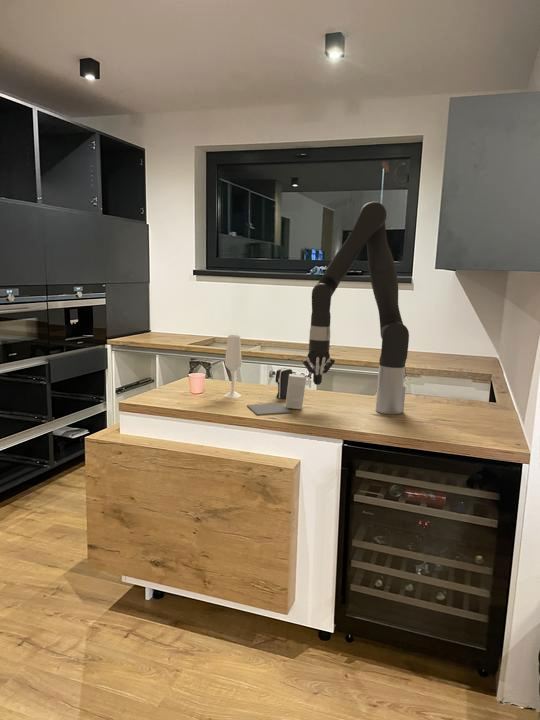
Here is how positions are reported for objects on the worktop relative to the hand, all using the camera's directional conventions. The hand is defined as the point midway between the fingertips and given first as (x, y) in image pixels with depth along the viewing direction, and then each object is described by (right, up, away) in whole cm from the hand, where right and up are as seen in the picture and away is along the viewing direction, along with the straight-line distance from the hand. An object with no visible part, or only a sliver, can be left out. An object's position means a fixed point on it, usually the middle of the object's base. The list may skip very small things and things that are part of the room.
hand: (317, 384), depth 194 cm
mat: (-18, -9, -5) cm, 21 cm away
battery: (-12, -6, +14) cm, 20 cm away
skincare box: (-9, -9, -2) cm, 13 cm away
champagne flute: (-32, -5, +13) cm, 35 cm away
